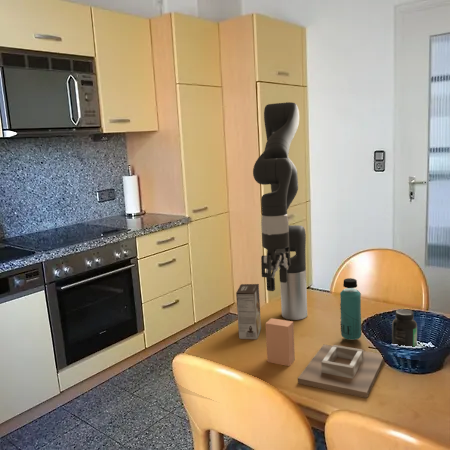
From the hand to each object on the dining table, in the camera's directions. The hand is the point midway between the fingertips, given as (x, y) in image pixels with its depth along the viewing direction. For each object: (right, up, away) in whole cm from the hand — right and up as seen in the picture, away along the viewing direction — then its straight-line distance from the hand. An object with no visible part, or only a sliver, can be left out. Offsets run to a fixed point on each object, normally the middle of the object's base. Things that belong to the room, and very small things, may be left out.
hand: (277, 286), depth 135 cm
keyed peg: (+1, -22, +4) cm, 23 cm away
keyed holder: (+18, -23, -4) cm, 29 cm away
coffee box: (-6, -19, +24) cm, 31 cm away
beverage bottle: (+25, -19, +14) cm, 34 cm away
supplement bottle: (+38, -20, +6) cm, 43 cm away
